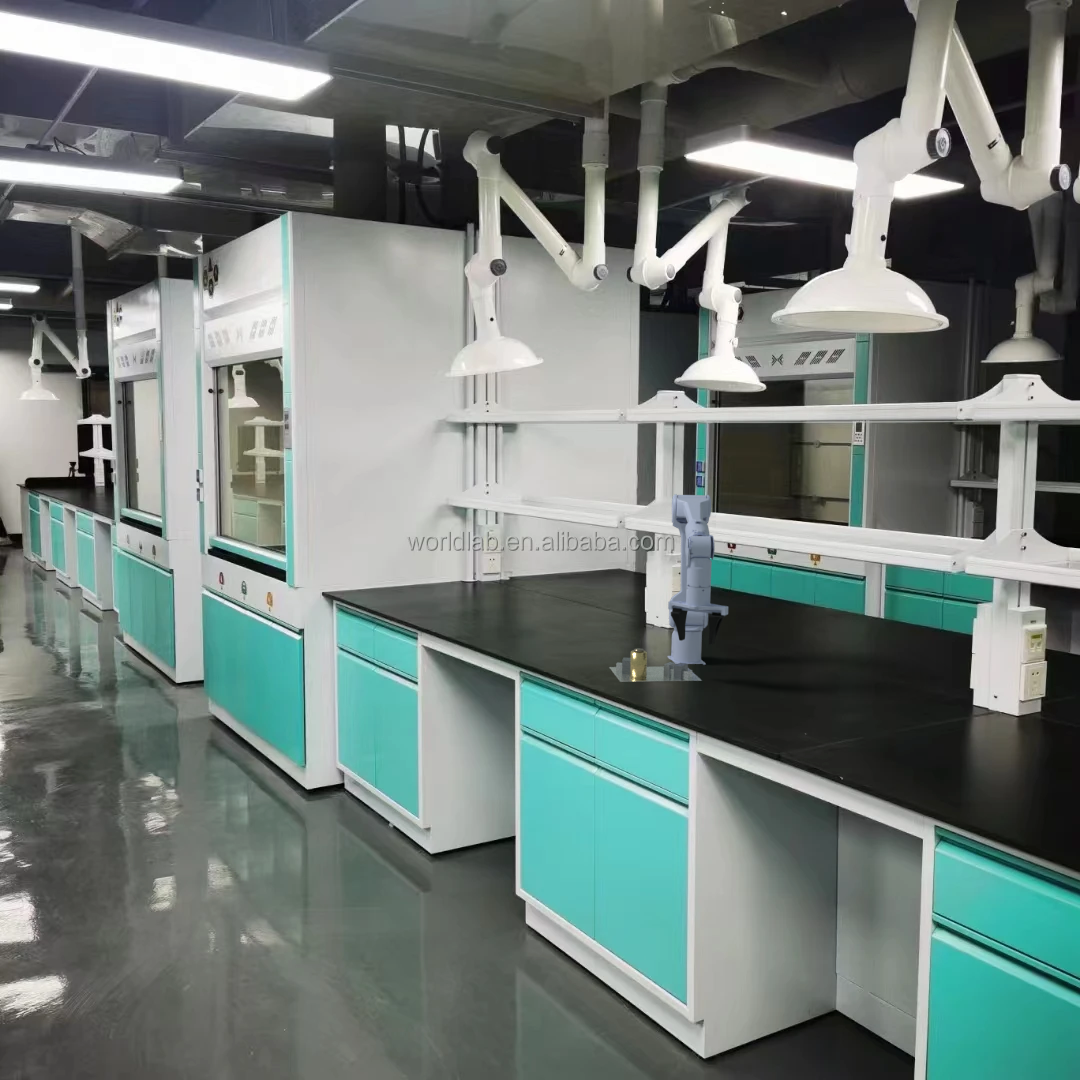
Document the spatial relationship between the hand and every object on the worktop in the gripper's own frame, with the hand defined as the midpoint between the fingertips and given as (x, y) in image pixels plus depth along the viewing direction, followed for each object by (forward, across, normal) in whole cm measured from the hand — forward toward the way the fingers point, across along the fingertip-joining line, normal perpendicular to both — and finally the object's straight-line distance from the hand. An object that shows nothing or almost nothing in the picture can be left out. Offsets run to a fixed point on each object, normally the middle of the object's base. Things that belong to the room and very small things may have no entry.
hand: (696, 641), depth 245 cm
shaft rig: (+10, -11, +1) cm, 15 cm away
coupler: (+10, -13, -6) cm, 17 cm away
